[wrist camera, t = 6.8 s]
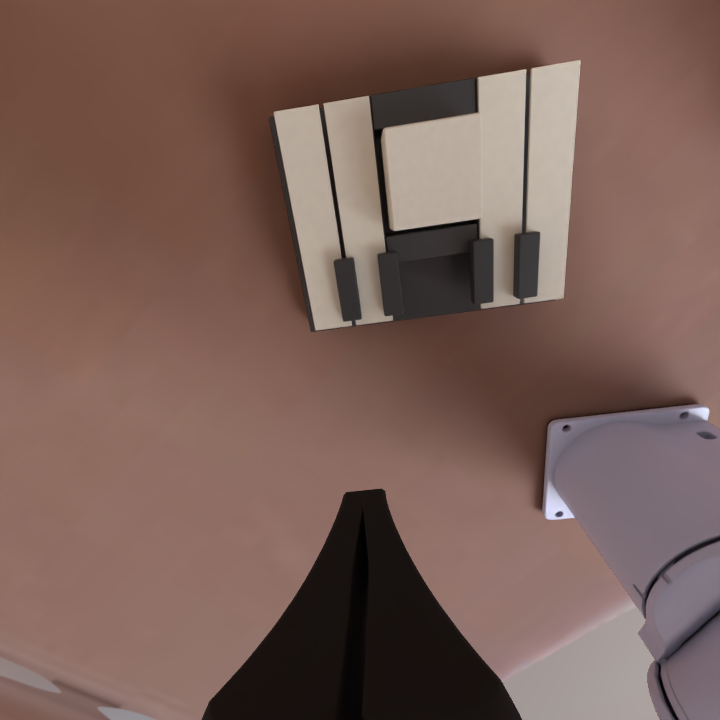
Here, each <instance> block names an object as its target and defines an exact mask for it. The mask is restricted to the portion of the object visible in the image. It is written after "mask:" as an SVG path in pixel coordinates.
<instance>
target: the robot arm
mask: <svg viewBox="0 0 720 720" xmlns="http://www.w3.org/2000/svg"><path fill="white" fill-rule="evenodd" d="M682 413H683V414H682ZM681 414H682V415H681ZM708 416H709V408H708V407H706V406H704V405H702V404H693V405H684V406H675V407H666V408H657V409H648V410H639V411H630V412H621V413H612V414H603V415H594V416H585V417H576V418H567V419H558V420H553V421H552V422H550V423H549V425H548V431H547V446H546V462H545V477H544V493H543V508H542V513H543V515H544V517H545V518H546V519H548V520H555V519H565V518H575V519H576V520H577V521H578V523H579V524H580V526H581V527H582V529H583V530H584V531H585V533H586V534H587V536H588V537H589V539H590V540H591V542H592V543H593V544H594V546H595V547H596V549H597V550H598V552H599V553H600V554H601V556H602V557H603V559H604V560H605V562H606V563H607V565H608V566H609V567H610V569H611V570H612V572H613V573H614V575H615V576H616V578H617V579H618V580H619V582H620V583H621V585H622V586H623V588H624V589H625V590H626V592H627V593H628V595H629V596H630V598H631V599H632V601H633V602H634V603H635V605H636V606H637V608H638V609H639V610H640V612H641V613H642V615H643V616H644V618H645V619H646V622H645V624H644V626H643V627H642V629H641V630H640V631H639V633H638V634H639V636H640V637H641V639H642V640H643V642H644V643H645V645H646V646H647V648H648V649H649V651H650V652H651V654H652V656H653V657H654V659H655V660H654V662H653V663H652V664H651V665H650V667H649V670H648V674H647V682H648V688H649V693H650V696H651V699H652V702H653V705H654V708H655V710H656V712H657V715H658V717H659V718H660V720H720V429H719V428H718V427H716V426H714V425H713V424H711V423H709V422H708V421H707V420H708ZM565 425H568V426H567V427H566V428H564V429H563V427H564V426H565ZM202 720H522V719H521V717H520V714H519V712H518V711H517V709H516V707H515V705H514V703H513V701H512V699H511V698H510V696H509V694H508V692H507V690H506V689H505V687H504V685H503V683H502V681H501V680H500V679H499V677H498V676H497V675H496V674H495V673H494V672H493V671H492V670H491V668H490V667H489V666H488V665H487V664H486V663H485V662H484V660H483V659H482V658H481V657H480V656H479V655H478V653H477V652H476V651H475V650H474V649H473V648H472V646H471V645H470V644H469V643H468V641H467V640H466V639H465V638H464V636H463V635H462V634H461V633H460V631H459V630H458V629H457V627H456V626H455V625H454V623H453V622H452V621H451V619H450V618H449V617H448V615H447V614H446V613H445V611H444V610H443V608H442V607H441V606H440V604H439V603H438V601H437V600H436V598H435V597H434V595H433V594H432V592H431V591H430V589H429V588H428V586H427V585H426V583H425V582H424V580H423V578H422V577H421V575H420V573H419V572H418V570H417V568H416V566H415V565H414V563H413V561H412V559H411V557H410V556H409V554H408V552H407V550H406V548H405V546H404V544H403V542H402V540H401V538H400V535H399V533H398V531H397V529H396V526H395V524H394V522H393V519H392V516H391V513H390V511H389V507H388V504H387V500H386V493H385V491H384V490H383V489H374V490H364V491H354V492H346V493H345V494H344V496H343V500H342V503H341V506H340V509H339V511H338V514H337V517H336V519H335V522H334V524H333V526H332V529H331V531H330V533H329V535H328V537H327V540H326V542H325V544H324V546H323V548H322V550H321V552H320V554H319V556H318V558H317V560H316V561H315V563H314V565H313V567H312V569H311V571H310V573H309V574H308V576H307V578H306V579H305V581H304V583H303V584H302V586H301V588H300V589H299V591H298V592H297V594H296V596H295V597H294V599H293V600H292V602H291V603H290V605H289V606H288V607H287V609H286V610H285V612H284V613H283V615H282V616H281V618H280V619H279V620H278V622H277V623H276V624H275V626H274V627H273V628H272V630H271V631H270V632H269V634H268V635H267V636H266V637H265V639H264V640H263V641H262V642H261V644H260V645H259V646H258V647H257V649H256V650H255V651H254V652H253V653H252V655H251V656H250V657H249V658H248V660H247V661H246V662H245V663H244V664H243V665H242V667H241V668H240V669H239V670H238V671H237V672H236V673H235V674H234V675H233V676H232V678H231V679H230V680H229V681H228V682H227V683H226V684H225V685H224V686H223V687H222V688H221V690H220V691H219V692H218V693H217V694H216V695H215V696H214V697H213V698H212V699H211V700H210V702H209V704H208V706H207V708H206V711H205V713H204V715H203V718H202Z"/></svg>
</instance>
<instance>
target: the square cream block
mask: <svg viewBox="0 0 720 720" xmlns="http://www.w3.org/2000/svg"><path fill="white" fill-rule="evenodd" d="M381 149H382V159H383V169H384V179H385V189H386V199H387V209H388V218H389V227H390V229H391V230H393V231H399V230H406V229H413V228H419V227H426V226H433V225H440V224H447V223H454V222H461V221H468V220H474V219H481V218H482V217H483V172H482V114H481V113H480V112H478V113H472V114H466V115H460V116H454V117H447V118H441V119H435V120H429V121H423V122H417V123H411V124H405V125H398V126H392V127H386V128H384V129H383V132H382V137H381Z"/></svg>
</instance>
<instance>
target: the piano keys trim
mask: <svg viewBox="0 0 720 720" xmlns="http://www.w3.org/2000/svg"><path fill="white" fill-rule="evenodd" d="M580 62H581V60H577V61H571V62H565V63H559V64H553V65H547V66H542V67H536V68H532V69H531V70H530V99H529V131H528V164H527V197H526V229H525V233H522V209H523V172H524V135H525V98H526V69H524V70H518V71H512V72H506V73H500V74H494V75H488V76H482V77H478V78H477V89H478V112H480V113H481V114H482V172H483V217H482V218H481V219H479V231H480V239H476V240H471V241H470V281H471V302H472V303H473V304H475V305H476V304H481V309H485V308H493V307H500V306H508V305H516V304H520V299H522V298H523V303H531V302H539V301H546V300H554V299H562V298H563V297H564V283H565V270H566V256H567V242H568V228H569V214H570V200H571V186H572V173H573V159H574V145H575V131H576V117H577V103H578V90H579V76H580ZM323 105H324V111H325V118H326V125H327V132H328V138H329V145H330V152H331V159H332V165H333V172H334V179H335V186H336V193H337V199H338V206H339V213H340V220H341V226H342V233H343V240H344V247H345V253H346V258H342V255H341V249H340V242H339V236H338V229H337V223H336V216H335V209H334V203H333V196H332V190H331V183H330V177H329V170H328V163H327V157H326V150H325V144H324V137H323V130H322V124H321V117H320V111H319V105H318V104H317V105H311V106H305V107H299V108H293V109H287V110H281V111H275V112H274V117H275V122H276V128H277V133H278V138H279V143H280V148H281V154H282V159H283V164H284V169H285V174H286V180H287V185H288V190H289V195H290V200H291V206H292V211H293V216H294V221H295V226H296V232H297V237H298V242H299V247H300V252H301V258H302V263H303V268H304V273H305V278H306V284H307V289H308V294H309V299H310V304H311V310H312V315H313V320H314V325H315V330H324V329H332V328H339V327H347V326H352V321H354V320H355V321H356V325H362V324H370V323H378V322H385V321H393V315H400V314H403V313H404V310H403V300H402V289H401V279H400V268H399V258H398V252H397V251H391V252H386V250H385V240H384V231H383V222H382V212H381V203H380V194H379V185H378V175H377V166H376V157H375V147H374V138H373V129H372V119H371V110H370V101H369V96H364V97H358V98H352V99H346V100H340V101H334V102H329V103H324V104H323Z"/></svg>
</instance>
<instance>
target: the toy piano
mask: <svg viewBox="0 0 720 720" xmlns="http://www.w3.org/2000/svg"><path fill="white" fill-rule="evenodd" d="M529 99H530V74H526V98H525V135H524V172H523V209H522V233H525V229H526V197H527V164H528V131H529ZM369 101H370V110H371V119H372V129H373V138H374V147H375V157H376V166H377V175H378V185H379V194H380V203H381V212H382V222H383V231H384V240H385V250H386V252H391V251H397V252H398V258H399V268H400V279H401V289H402V300H403V310H404V313H403V314H400V315H393V321H400V320H407V319H415V318H423V317H430V316H438V315H446V314H453V313H461V312H469V311H476V310H484V309H481V304H476V305H475V304H473V303H472V302H471V281H470V241H471V240H476V239H480V231H479V219H474V220H468V221H461V222H454V223H447V224H440V225H433V226H426V227H419V228H413V229H406V230H399V231H393V230H391V229H390V227H389V218H388V209H387V199H386V189H385V179H384V169H383V159H382V149H381V137H382V132H383V129H384V128H386V127H392V126H398V125H405V124H411V123H417V122H423V121H429V120H435V119H441V118H447V117H454V116H460V115H466V114H472V113H478V89H477V78H476V79H475V78H470V79H464V80H458V81H452V82H446V83H440V84H435V85H429V86H423V87H417V88H411V89H405V90H399V91H393V92H387V93H381V94H375V95H371V96H369ZM319 111H320V117H321V124H322V130H323V137H324V144H325V150H326V157H327V163H328V170H329V177H330V183H331V190H332V196H333V203H334V209H335V216H336V223H337V229H338V236H339V242H340V249H341V255H342V258H346V253H345V247H344V240H343V233H342V226H341V220H340V213H339V206H338V199H337V193H336V186H335V179H334V172H333V165H332V159H331V152H330V145H329V138H328V132H327V125H326V118H325V111H324V108H322V109H319ZM269 122H270V127H271V132H272V137H273V142H274V147H275V152H276V157H277V162H278V167H279V172H280V177H281V182H282V187H283V192H284V198H285V203H286V208H287V213H288V218H289V223H290V228H291V233H292V238H293V243H294V248H295V253H296V258H297V263H298V268H299V273H300V279H301V284H302V289H303V294H304V299H305V304H306V309H307V314H308V319H309V324H310V329H311V332H315V331H323V330H315V325H314V320H313V315H312V310H311V304H310V299H309V294H308V289H307V284H306V278H305V273H304V268H303V263H302V258H301V252H300V247H299V242H298V237H297V232H296V226H295V221H294V216H293V211H292V206H291V200H290V195H289V190H288V185H287V180H286V174H285V169H284V164H283V159H282V154H281V148H280V143H279V138H278V133H277V128H276V122H275V117H270V118H269ZM554 300H556V299H554ZM546 301H553V300H546ZM539 302H545V301H539ZM531 303H538V302H531ZM522 304H530V303H523V298H522V299H520V304H516V305H522ZM508 306H515V305H508ZM500 307H507V306H500ZM493 308H499V307H493ZM485 309H492V308H485ZM385 322H392V321H385ZM378 323H384V322H378ZM370 324H376V323H370ZM362 325H369V324H362ZM353 326H361V325H356V321H355V320H354V321H352V326H347V327H353ZM339 328H346V327H339ZM332 329H338V328H332ZM324 330H330V329H324Z"/></svg>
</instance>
